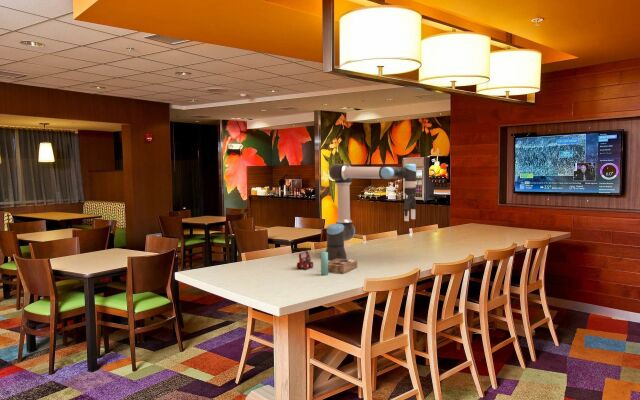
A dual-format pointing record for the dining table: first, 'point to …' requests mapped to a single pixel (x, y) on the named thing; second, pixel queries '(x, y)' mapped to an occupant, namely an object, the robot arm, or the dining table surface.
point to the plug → (324, 263)
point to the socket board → (341, 265)
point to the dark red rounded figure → (304, 261)
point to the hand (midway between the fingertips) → (409, 220)
